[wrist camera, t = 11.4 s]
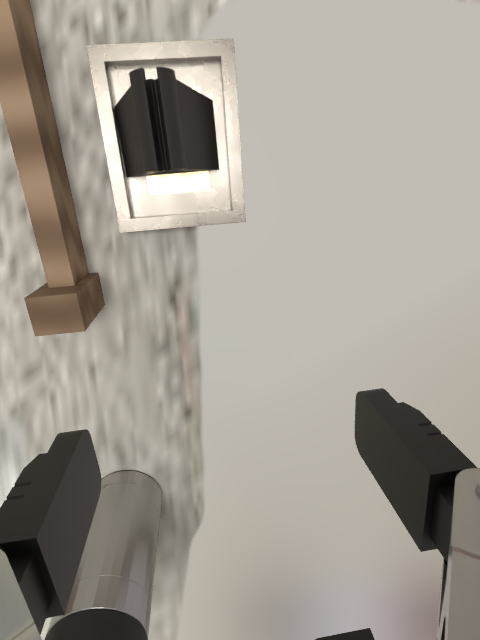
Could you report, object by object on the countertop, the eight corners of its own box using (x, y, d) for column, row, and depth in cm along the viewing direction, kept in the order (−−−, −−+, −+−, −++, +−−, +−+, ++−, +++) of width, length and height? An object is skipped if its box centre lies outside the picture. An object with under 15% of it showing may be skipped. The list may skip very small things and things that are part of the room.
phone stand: (126, 177, 36) (96, 175, 25) (114, 107, 34) (76, 70, 23) (219, 170, 37) (230, 164, 26) (212, 101, 35) (221, 62, 24)
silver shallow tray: (242, 219, 40) (245, 221, 38) (124, 229, 39) (120, 232, 37) (230, 48, 35) (233, 38, 32) (94, 55, 34) (86, 45, 31)
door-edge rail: (104, 304, 42) (85, 331, 34) (63, 308, 41) (35, 336, 34) (40, -2, 32) (-6, -59, 25) (-13, 0, 32) (-77, -57, 24)
